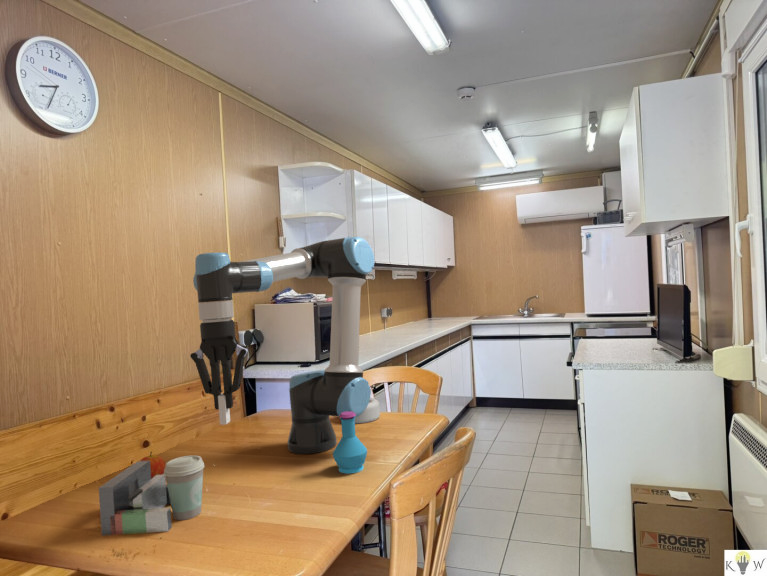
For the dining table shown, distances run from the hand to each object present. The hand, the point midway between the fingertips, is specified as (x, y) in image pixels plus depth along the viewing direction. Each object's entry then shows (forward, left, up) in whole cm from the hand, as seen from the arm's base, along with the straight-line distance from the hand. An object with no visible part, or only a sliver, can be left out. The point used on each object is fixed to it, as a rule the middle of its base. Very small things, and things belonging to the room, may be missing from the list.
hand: (225, 422), depth 114 cm
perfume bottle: (-26, -20, -20) cm, 38 cm away
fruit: (+28, -20, -20) cm, 39 cm away
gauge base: (+17, +2, -19) cm, 26 cm away
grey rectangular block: (+21, +4, -19) cm, 28 cm away
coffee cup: (+9, +2, -20) cm, 22 cm away
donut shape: (-25, -72, -20) cm, 79 cm away
